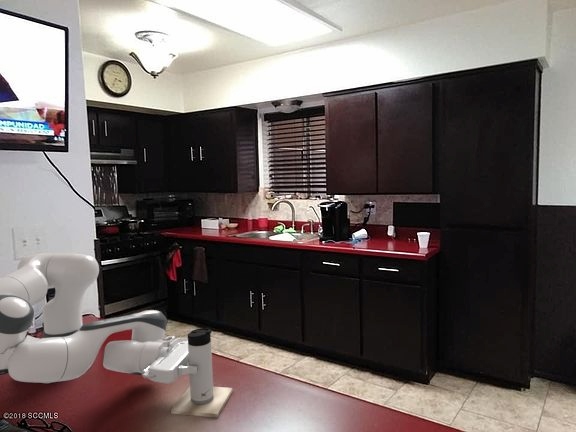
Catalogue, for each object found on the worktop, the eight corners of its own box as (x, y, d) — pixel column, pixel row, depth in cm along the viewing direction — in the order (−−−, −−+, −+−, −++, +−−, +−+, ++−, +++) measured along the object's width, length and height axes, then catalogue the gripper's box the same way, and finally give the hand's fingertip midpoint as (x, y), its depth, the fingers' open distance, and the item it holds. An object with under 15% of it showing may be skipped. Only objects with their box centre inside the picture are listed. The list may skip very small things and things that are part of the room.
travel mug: (209, 406, 113) (205, 335, 111) (186, 403, 115) (182, 333, 112) (218, 394, 119) (215, 326, 117) (197, 391, 121) (193, 324, 118)
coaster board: (171, 413, 112) (171, 409, 112) (190, 388, 125) (190, 384, 125) (217, 417, 110) (217, 413, 110) (232, 391, 122) (232, 388, 122)
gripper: (137, 364, 108) (187, 368, 105) (172, 333, 128) (215, 335, 125) (138, 387, 108) (189, 391, 106) (173, 353, 128) (216, 355, 126)
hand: (203, 361), depth 116 cm, fingers open, 8 cm apart
